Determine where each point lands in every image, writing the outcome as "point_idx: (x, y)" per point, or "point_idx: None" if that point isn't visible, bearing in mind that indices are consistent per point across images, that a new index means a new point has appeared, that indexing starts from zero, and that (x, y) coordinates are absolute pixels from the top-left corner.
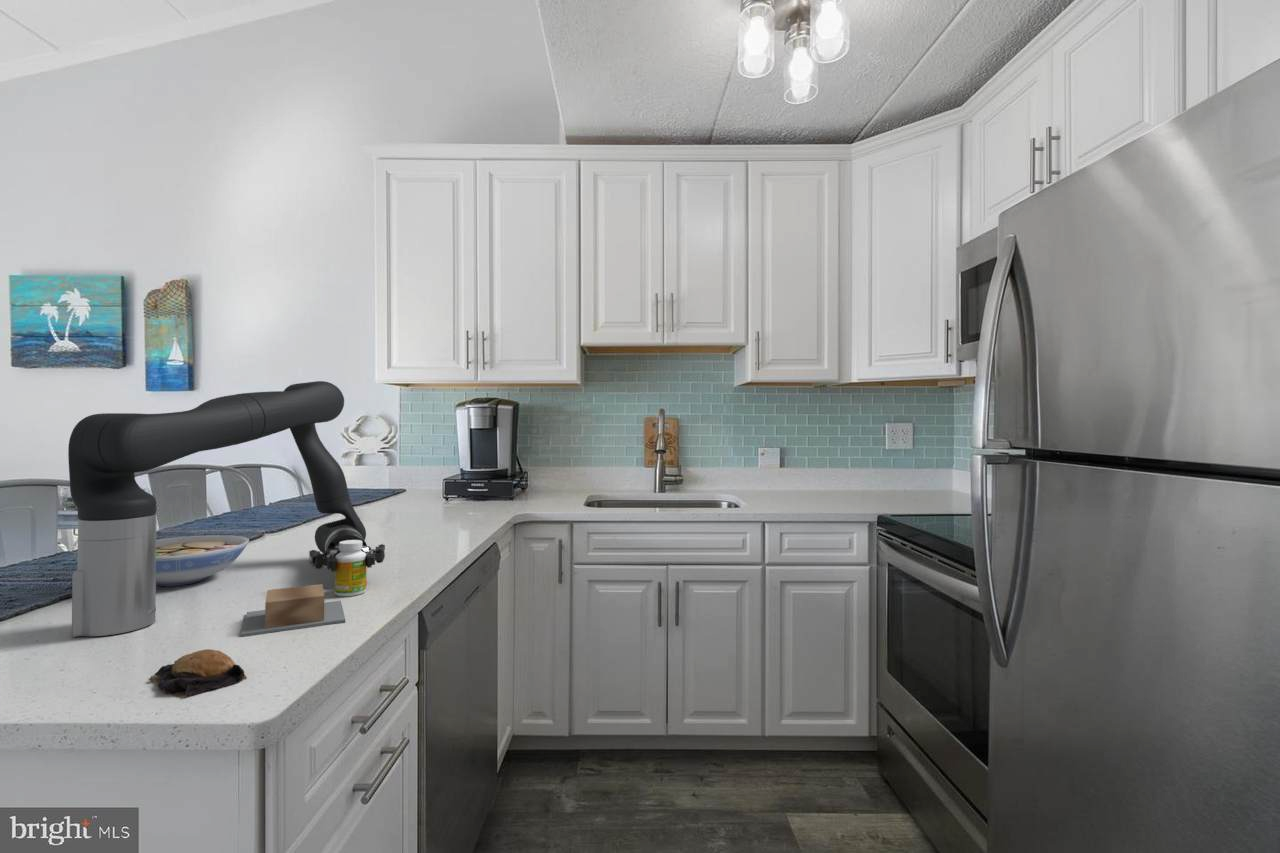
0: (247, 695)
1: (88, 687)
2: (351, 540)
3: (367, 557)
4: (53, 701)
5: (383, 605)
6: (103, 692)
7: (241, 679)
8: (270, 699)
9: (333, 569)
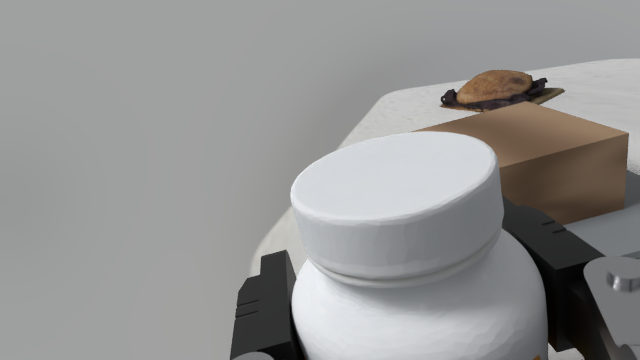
0: (419, 98)
1: (622, 76)
2: (396, 197)
3: (288, 260)
4: (621, 67)
5: None
6: (584, 77)
7: (443, 103)
8: (395, 99)
9: None
